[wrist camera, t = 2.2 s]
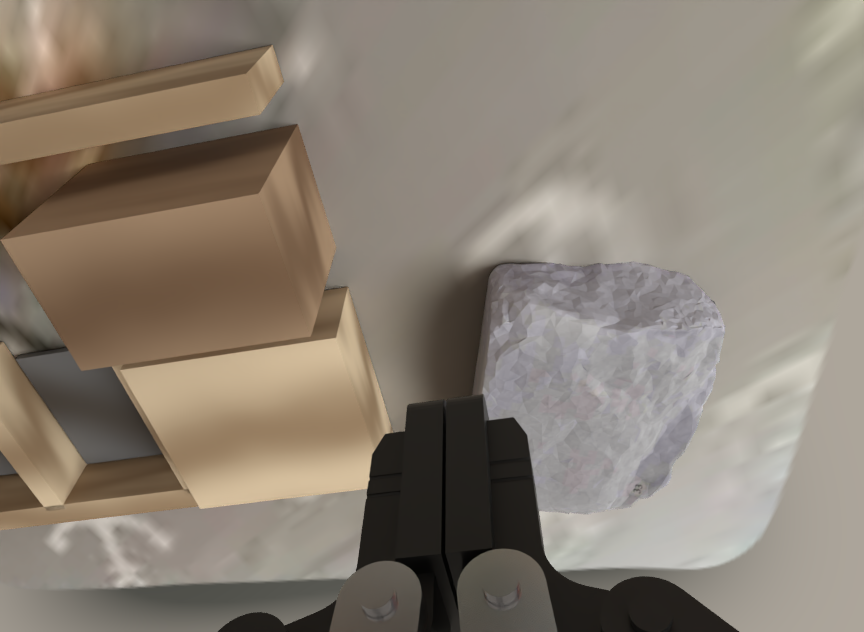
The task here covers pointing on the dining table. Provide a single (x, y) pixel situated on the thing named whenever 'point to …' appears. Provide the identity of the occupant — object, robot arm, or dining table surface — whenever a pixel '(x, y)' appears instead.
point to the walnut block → (181, 250)
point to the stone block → (598, 375)
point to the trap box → (183, 375)
